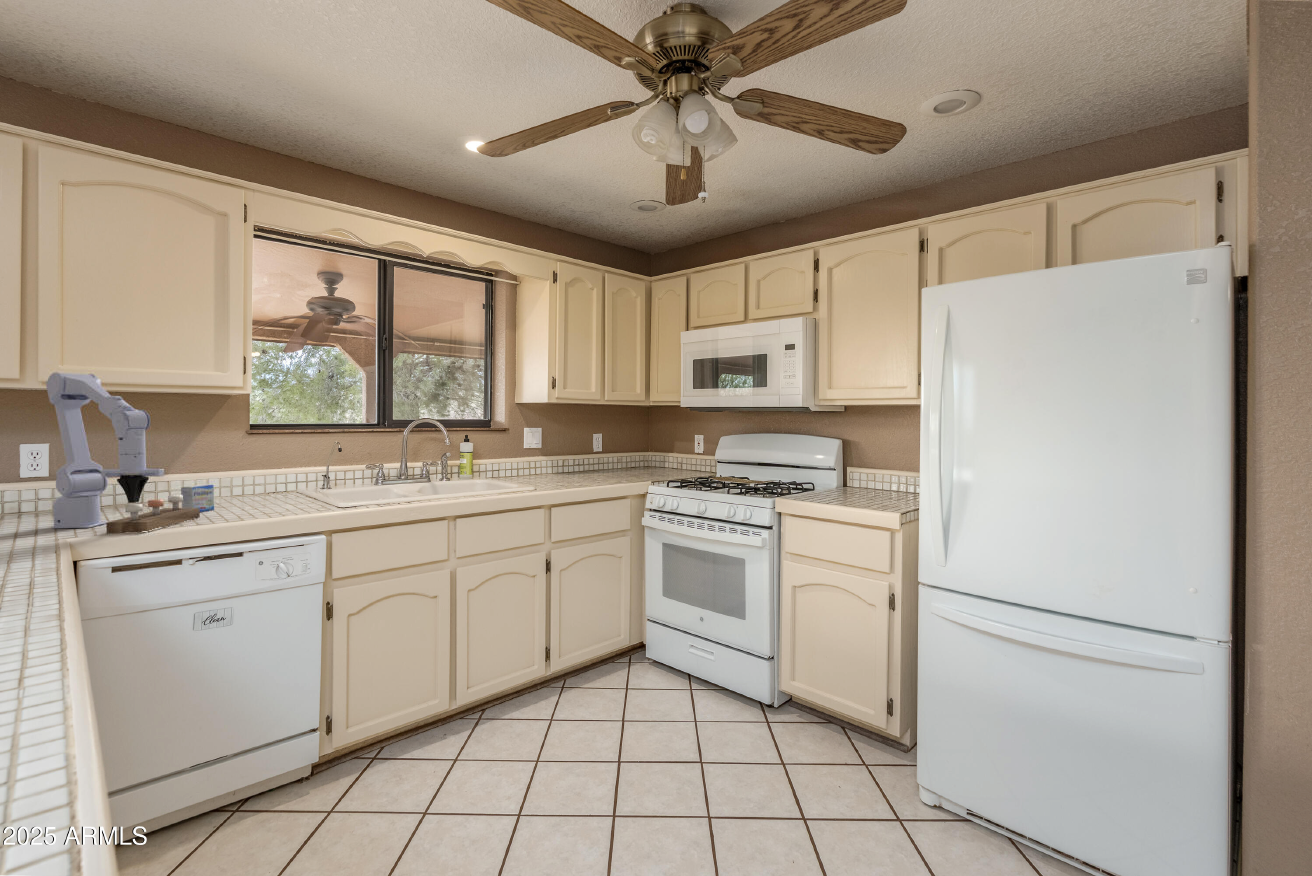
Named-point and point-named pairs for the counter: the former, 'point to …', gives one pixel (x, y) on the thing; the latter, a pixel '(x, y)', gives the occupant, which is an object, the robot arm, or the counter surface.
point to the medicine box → (198, 497)
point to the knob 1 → (133, 510)
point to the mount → (152, 520)
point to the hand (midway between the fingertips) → (133, 502)
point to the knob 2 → (175, 501)
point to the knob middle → (156, 505)
